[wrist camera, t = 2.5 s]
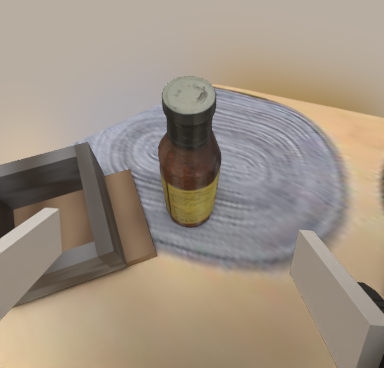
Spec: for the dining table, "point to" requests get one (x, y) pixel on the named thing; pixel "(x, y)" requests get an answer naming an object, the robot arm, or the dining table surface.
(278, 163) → the dining table surface
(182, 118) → the sauce bottle
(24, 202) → the post socket
